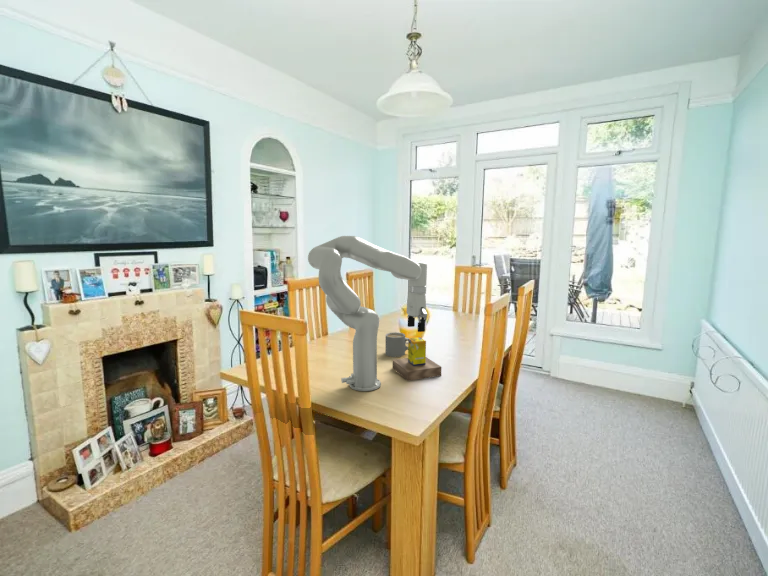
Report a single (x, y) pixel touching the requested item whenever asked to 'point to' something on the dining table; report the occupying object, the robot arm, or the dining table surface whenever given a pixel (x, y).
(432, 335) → the dining table surface
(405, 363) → the walnut base
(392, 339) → the coffee mug
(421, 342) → the supplement box
